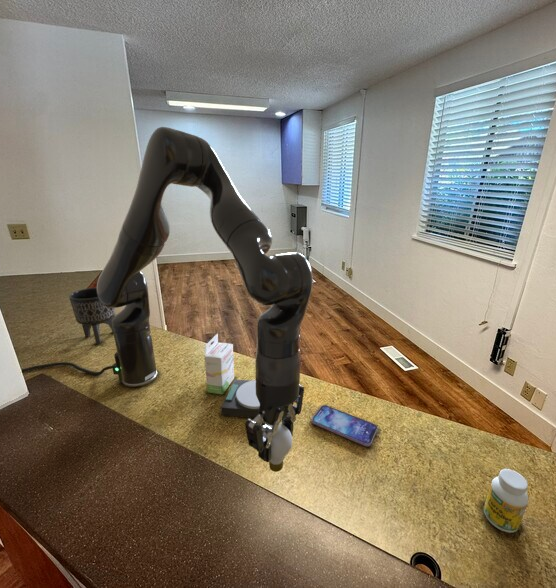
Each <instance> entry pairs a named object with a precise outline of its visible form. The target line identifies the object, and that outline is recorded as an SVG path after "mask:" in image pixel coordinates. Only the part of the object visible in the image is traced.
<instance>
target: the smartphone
mask: <svg viewBox="0 0 556 588" xmlns="http://www.w3.org/2000/svg"><path fill="white" fill-rule="evenodd" d="M311 423H312V424H313V425H314V426H317V427H320V428H321V429H324V430H327V431H329V432H331V433H333V434H336V435H338V436H341V437H343V438H346V439H348V440H350V441H351V442H355V443H357V444H359V445H362V446H365V447H370V446H371V445H372V444H373V442H374V439H375V437H376V434H377V432H378V426H377V425H376V424H375V423H373V422H370V421H367V420H365V419H362V418H360V417H357V416H355V415H353V414H350V413H347V412H344V411H342V410H339V409H336V408H334V407H332V406H329V405H326V404H322V405H321V406H320V407H319V409H318V410H317V411H316V412H315V414H314V415H313V416H312V418H311Z"/></svg>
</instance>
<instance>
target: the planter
mask: <svg viewBox="0 0 556 588" xmlns="http://www.w3.org/2000/svg"><path fill="white" fill-rule="evenodd" d="M68 298H69V301H70V306H71V308H72V311H73V314H74V318H75V322H77V323H78V324H79V325H81V327H82V330H83V334H84V337H85V338H90V337H91V336H92V335H91V329H92V333H93V336H94V340H95V345H96V346H97V345H101V344H102V340H101V334H100V324H101V325H102V324H105V325H107V326H108V327H109V328H110V329H111V332H112V333H113V329H112V323H111V322H112V319H113V318H114V317H115V316H116V308H109V307H106V306H104V305H103V304H102V303H101V302H100V300H99V298H98V295H97V287H89V288H88V287H87V288H84V289H79V290H77V291H74V292H72V293H70V294H69V295H68Z"/></svg>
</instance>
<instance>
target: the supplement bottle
mask: <svg viewBox="0 0 556 588" xmlns="http://www.w3.org/2000/svg"><path fill="white" fill-rule="evenodd" d="M528 487H529V484H528V480H527V479H526V478H525V477H524V476H523V475H522V474H520V473H519V472H517V471H516V470H513V469H510V468H502V469H501V470H500V471H499V474H498V476H495V477H494V478H493V479H492V480H491V484H490V487H489V490H488V493H487V496H486V499H485V503H484V506H483V513H484V516H485V517H486V519H487V520H488V521H489V523H490V524H491V525H492V526H493V527H495V528H497V529H498V530H500V531H502V532H505V533H516V532H517V531H518V530H519V528H520V525H521V523H522V520H523V517H524V514H525V512H526V509H527V506H528V504H529V495H528V492H527V491H528Z"/></svg>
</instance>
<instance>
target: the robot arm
mask: <svg viewBox="0 0 556 588" xmlns="http://www.w3.org/2000/svg"><path fill="white" fill-rule="evenodd" d="M138 176H139V177H138V181H137V184H136V187H135V191H134V195H133V196H132V200H131V203H130V205H129V207H128V211H127V213H126V215H125V218H124V220H123V223H122V225H121V228H120V230H119V233H118V237H117V240H116V243H115V246H114V247H113V250H112V252H111V255H110V257H109V259H108V260H107V262H106V264H105V266H104V267H103V269H102V271H101V273H100V275H99V276H98V278H97V283H96V288H97V295H98V298H99V300H100V302H101V303H102V304H103V305H104V306H106V307H109V308H115V309H117V308H122V307H124V308H123V309H122V310H121V311H119V312H118V313H117V314H115V317H114V318H113V319H112V322H111V323H112V329H113V332H112V334H113V339H114V343H115V348H116V349H115V350H116V352H115V353H114V354H113V357H114V361H115V363H114V364H112V365H109V366H105V367H103V368H102V369H101V370H100V371H91V370H89V369H86V368H83V367H81V366H79V365H77V364H75V363H73V362H67V361H66V362H65V361H63V362H53V363H47V364H39V365H34V366H30V367H26V368H21V369H22V372H21V373H23V372H27V371H33V370H36V369H42V368H49V367H56V366H70V367H73V368H74V369H76V370H78V371H81V372H83V373H86V374H89V375H93V376H100V375H102V374H104V373H105V372H106V371H108V370H112V372H113V375H117V376H118V381H119V383H120V384H122V385H123V386H125V387H128V388H139V387H144V386H147V385H149V384H150V383H152V382H154V381H155V380H156V379H157V377H158V370H157V365H156V364H157V363H156V357H155V350H154V344H153V336H152V330H151V324H150V317H151V308H150V299H149V298H150V296H149V288H148V283H147V280H146V278H145V276H144V274H143V272H141V271H142V270H143V269H145V268H146V267H147V266H148V265H149V266H150V264H151V263H152V262H153V261H154V260H156V259H157V258H158V256H159V255H160V254H161V252H162V251H163V249H164V247H165V245H166V243H167V241H168V239H169V237H170V233H171V232H170V230H171V228H170V222H169V219H168V216H167V214H166V211H165V208H164V205H163V197H164V194H165V192H166V190H167V188H168V187H169V185H177V186H178V185H179V186H185V187H191V188H195V187H196V188H197V189H199V190H200V191H202V193H204V194H205V195H206V196H207V197H208V198H209V199H210V201H209V203H210V204H209V218H210V222H211V224H212V228H213V229H214V232H215V233H216V235H217V236H218V237H219V239H220V240H221V241H222V243H223V244H224V246H226V248H227V250H228V251H229V252H230V253H231V254H232V257H233V259H234V261H235V264H236V267H237V269H238V272H239V275H240V278H241V281H242V285H243V286H244V289H245V292H246V293H247V295H248V296H249V298H251V299H252V300H253V301H254V302H256V303H258V304H260V305H262V306H270V307H269V308H268V309H267V310H265V311H264V312H263V313H261V315H260V316H259V317H258V318H257V321H256V354H255V362H254V363H255V364H254V365H255V367H254V368H255V380H256V396H257V398H258V401H259V403H260V407H259V410H258V416H257V417H256V418H253V419H252V418H247V419H246V421H245V423H244V426H245V427H244V428H245V432H246V438H247V443H248V446H249V447H251V448H253V449H254V450H256V451H257V452H258V453H257V457H258V458H259V459H260V460H261V461H263V462H266V463H269V461H270V460H271V441H272V438H273V435H275V434H276V433H277V430H278V426H279V424H282V425H284V426H286V427H287V428H288V429H289V431H290V433H291V435H292V437H293V436H294V423H295V422H296V419H297V417H296V416H297V415H299V416H300V414H301V412H302V408H303V403H304V402H303V401H304V394H305V386H303V385H300V381H301V380H300V379H301V352H300V349H301V348H300V347H301V345H300V344H301V326H302V323H303V321H304V317H305V314H306V311H307V307H308V304H309V301H310V298H311V294H312V290H313V286H314V285H313V284H314V277H313V269H312V266H311V264H310V262H309V260H308V258H306V257H305V256H304V255H303V254H301V253H300V252H296V251H290V252H289V251H288V252H284V253H277V254H272V255H267V253H268V252H269V250H270V249H271V248H272V245H273V236H272V233H271V231H270V229H268V227H267V226H266V225H265V223H264V222H263V221H262V220H261V219H260V217H259V216H258V214H256V213H255V211H253V209H252V208H251V207H250V206H249V205H248V203H246V201H245V200H244V198H243V197H242V196H241V195H240V193H239V192H238V190H237V188H236V186H235V185H234V183H233V181H232V180H231V178H230V176H229V174H228V172H227V171H226V170H225V167H224V166H223V164H222V162H221V160H220V159H219V157H218V155H217V153H216V152H215V150H214V148H213V147H212V146H211V145H210V143H208V141H206V139H204V138H202V137H200V136H198V135H196V134H195V135H194V134H192V133H188V132H185V131H183V130H182V131H181V130H179V129H175V128H172V127H166V126H160V127H157V128H156V129H154V130H153V133H152V134H151V135H150V137H149V139H148V142H147V145H146V148H145V152H144V156H143V158H142V164H141V168H140V172H139V175H138ZM294 403H295V404H296V405H294ZM270 425H271V426H272V428H271V427H269V426H270ZM264 432H265V433H266V434H267V438H264V437H263V434H264Z"/></svg>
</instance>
